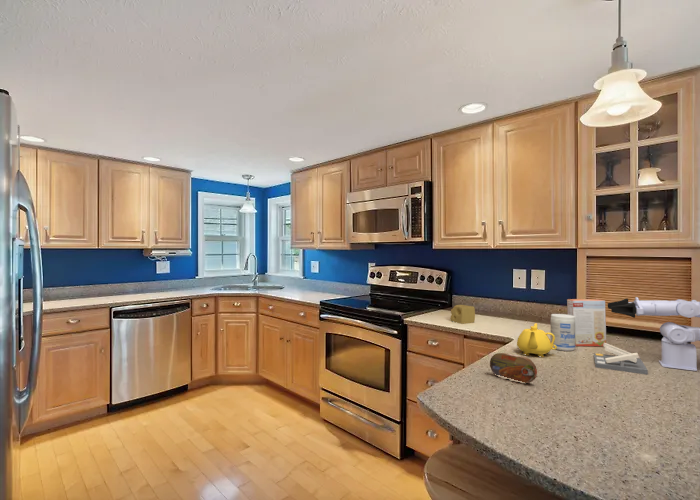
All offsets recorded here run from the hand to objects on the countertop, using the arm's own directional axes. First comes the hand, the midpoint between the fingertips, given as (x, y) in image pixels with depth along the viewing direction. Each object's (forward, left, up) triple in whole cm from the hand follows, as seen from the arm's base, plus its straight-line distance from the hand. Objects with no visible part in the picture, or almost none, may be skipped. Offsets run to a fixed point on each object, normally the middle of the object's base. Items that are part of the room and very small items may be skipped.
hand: (609, 307), depth 144 cm
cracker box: (+7, -22, -21) cm, 31 cm away
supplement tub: (+16, -9, -21) cm, 28 cm away
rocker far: (-3, +1, -16) cm, 17 cm away
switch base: (-2, +7, -21) cm, 22 cm away
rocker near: (-3, +13, -16) cm, 21 cm away
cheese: (+70, -49, -21) cm, 88 cm away
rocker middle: (-3, +7, -16) cm, 18 cm away
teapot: (+26, +7, -21) cm, 34 cm away
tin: (+29, +45, -21) cm, 58 cm away
